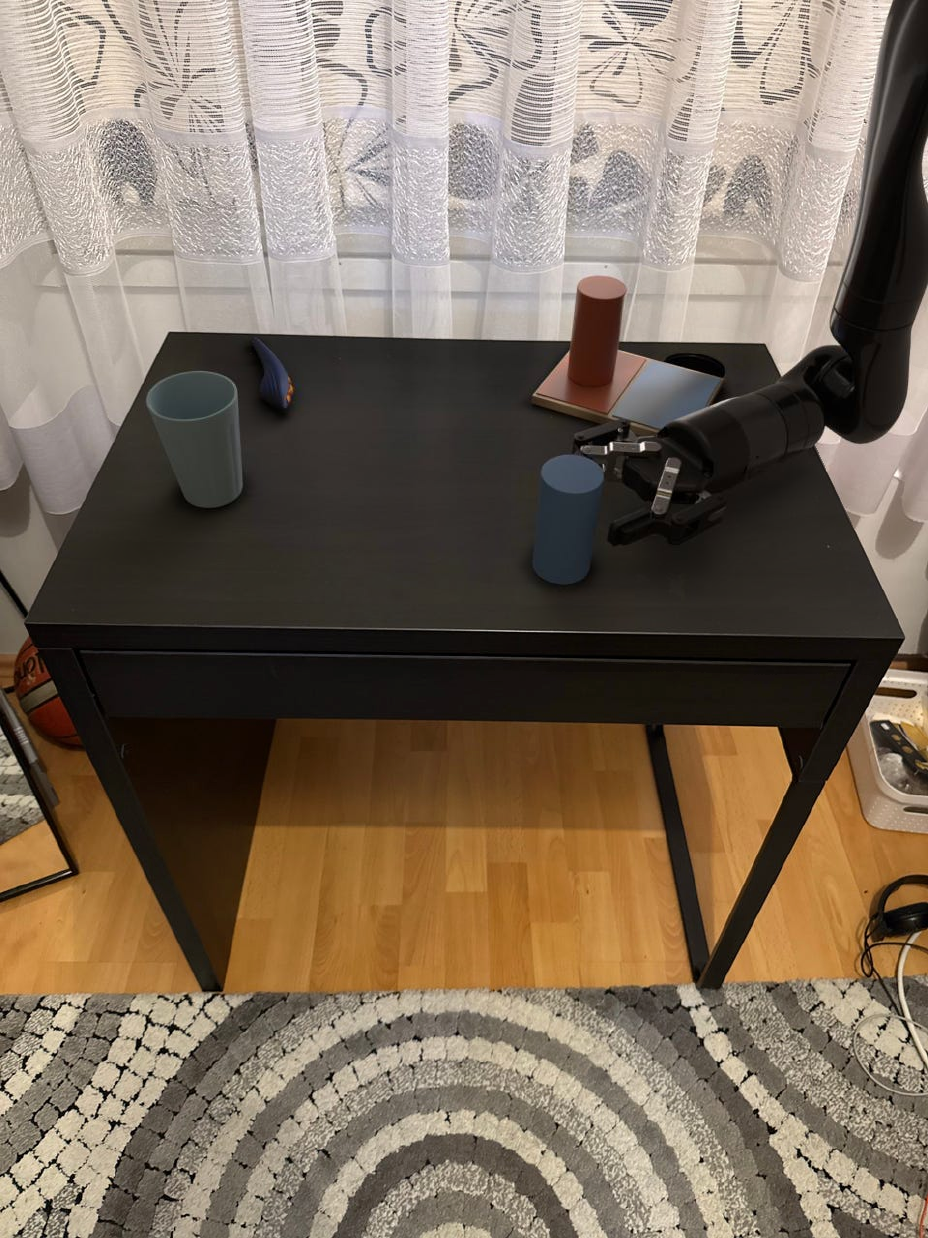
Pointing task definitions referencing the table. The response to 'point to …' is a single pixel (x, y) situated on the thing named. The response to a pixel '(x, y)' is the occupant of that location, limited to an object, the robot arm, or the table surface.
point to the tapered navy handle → (273, 377)
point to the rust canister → (596, 330)
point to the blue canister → (567, 518)
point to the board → (631, 393)
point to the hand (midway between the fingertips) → (578, 506)
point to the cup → (200, 434)
